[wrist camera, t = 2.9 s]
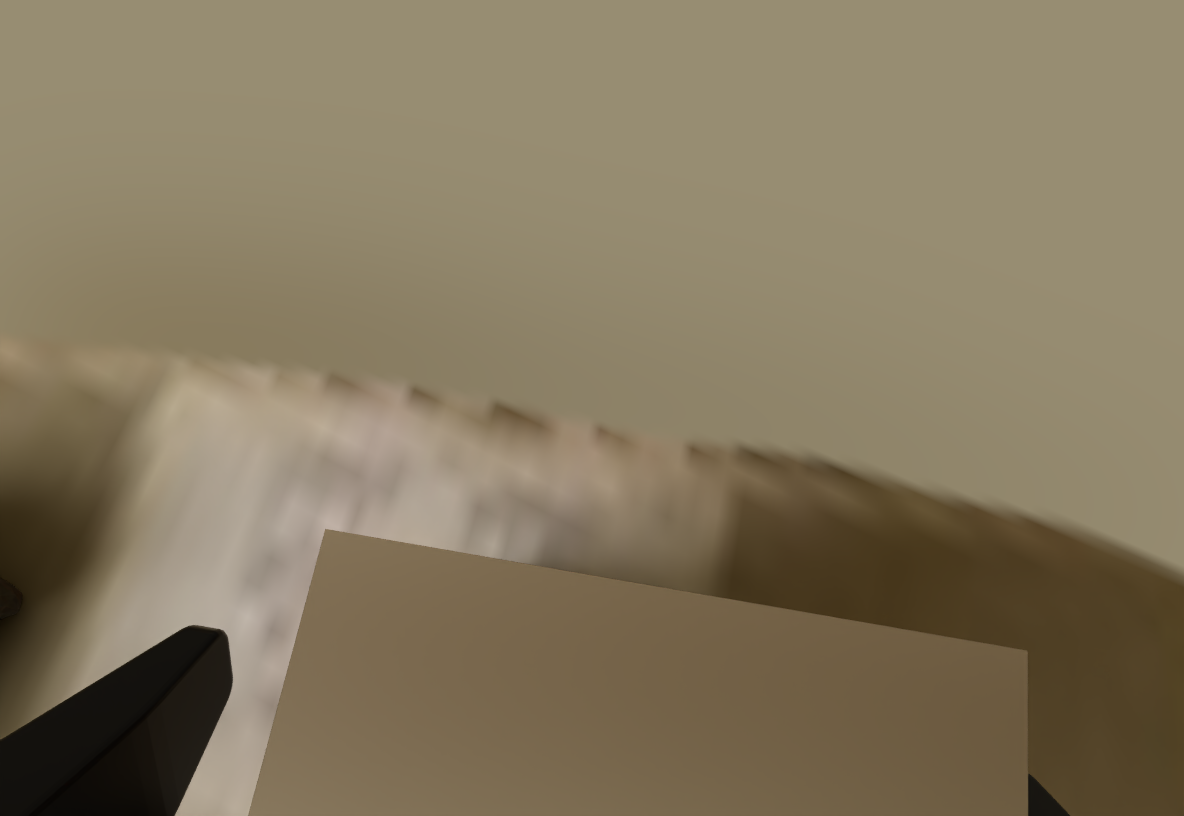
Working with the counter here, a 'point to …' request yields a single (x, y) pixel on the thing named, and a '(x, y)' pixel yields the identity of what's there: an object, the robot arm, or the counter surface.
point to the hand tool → (9, 599)
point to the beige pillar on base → (622, 701)
